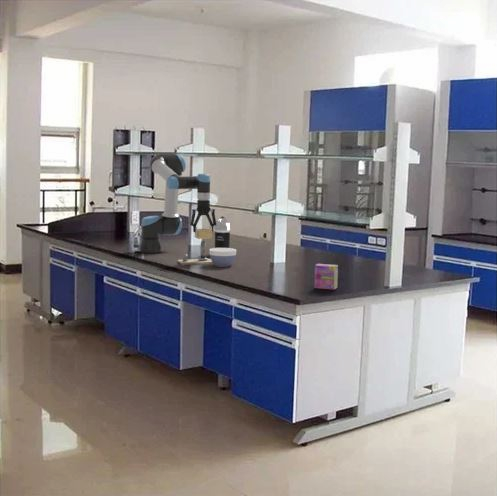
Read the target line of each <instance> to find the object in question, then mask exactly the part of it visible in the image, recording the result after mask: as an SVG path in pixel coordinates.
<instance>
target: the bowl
mask: <svg viewBox="0 0 497 496" xmlns="http://www.w3.org/2000/svg"><path fill="white" fill-rule="evenodd" d="M236 255H237V249H236V248H231V247H230V248H215V247H212V248H209V259H211V260H212V262H213V263H214V264H213V265H214V266H215V267H219V268H228V267H227V266H229V267H231V265H232V264H233V263H234V262H235V260H236Z"/></svg>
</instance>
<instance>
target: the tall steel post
mask: <svg viewBox="0 0 497 496" xmlns="http://www.w3.org/2000/svg"><path fill="white" fill-rule="evenodd" d="M206 245H207V243H206V241H205V240H201V241H200V257H198V259H199V261H207V259H208V257H207V256H206V253H207V252H206V250H207V249H206Z"/></svg>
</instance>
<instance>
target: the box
mask: <svg viewBox="0 0 497 496" xmlns="http://www.w3.org/2000/svg"><path fill="white" fill-rule="evenodd" d="M314 265H315V266H314V289H322V290H337V288H338V281H339V280H338V279H339V277H338V276H339V269H338V268H339V265H338V264H330V263H329V264H324V263H316V264H314Z"/></svg>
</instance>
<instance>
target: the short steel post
mask: <svg viewBox="0 0 497 496" xmlns="http://www.w3.org/2000/svg"><path fill="white" fill-rule="evenodd" d="M188 259H189V254H187V253H185V254H182V260H183V261H185V262H186V261H188Z"/></svg>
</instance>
